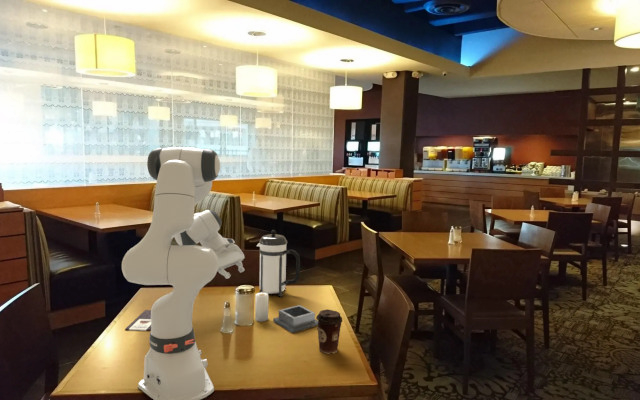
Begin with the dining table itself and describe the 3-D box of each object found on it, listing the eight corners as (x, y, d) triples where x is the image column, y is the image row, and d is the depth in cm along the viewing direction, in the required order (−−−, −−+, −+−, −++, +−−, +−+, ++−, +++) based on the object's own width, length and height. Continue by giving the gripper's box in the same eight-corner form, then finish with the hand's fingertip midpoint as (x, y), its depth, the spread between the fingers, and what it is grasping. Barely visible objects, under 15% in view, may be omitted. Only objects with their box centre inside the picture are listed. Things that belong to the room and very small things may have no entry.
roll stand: (320, 324, 162) (320, 313, 161) (292, 333, 154) (292, 320, 153) (300, 314, 172) (300, 303, 171) (273, 321, 164) (273, 309, 163)
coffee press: (267, 301, 185) (268, 234, 181) (250, 291, 198) (251, 228, 194) (300, 294, 195) (301, 231, 192) (282, 285, 208) (283, 225, 204)
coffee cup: (318, 357, 136) (320, 318, 135) (312, 345, 144) (313, 309, 143) (344, 354, 139) (345, 316, 137) (336, 343, 147) (337, 307, 145)
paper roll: (270, 319, 165) (270, 295, 164) (259, 322, 162) (259, 297, 161) (263, 315, 169) (264, 291, 168) (253, 318, 166) (253, 293, 165)
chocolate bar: (167, 310, 170) (150, 329, 152) (167, 313, 170) (150, 332, 152) (145, 310, 170) (125, 328, 152) (145, 312, 170) (125, 331, 152)
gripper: (203, 248, 161) (224, 276, 158) (235, 238, 179) (254, 263, 177) (194, 257, 163) (215, 286, 160) (226, 247, 182) (245, 272, 179)
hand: (236, 274), depth 169 cm, fingers open, 8 cm apart
